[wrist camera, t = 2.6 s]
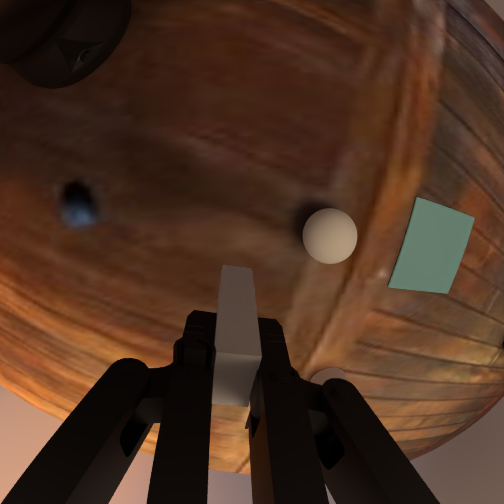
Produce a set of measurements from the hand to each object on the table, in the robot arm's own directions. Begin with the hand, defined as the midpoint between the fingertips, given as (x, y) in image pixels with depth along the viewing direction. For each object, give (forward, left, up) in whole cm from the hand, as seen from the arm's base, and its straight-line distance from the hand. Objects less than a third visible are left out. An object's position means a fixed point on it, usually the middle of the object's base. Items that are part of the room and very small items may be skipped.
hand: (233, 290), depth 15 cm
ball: (0, +9, -13) cm, 16 cm away
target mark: (0, +26, -15) cm, 31 cm away
